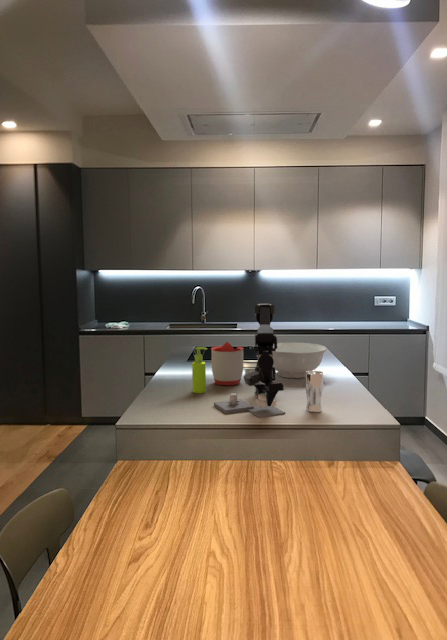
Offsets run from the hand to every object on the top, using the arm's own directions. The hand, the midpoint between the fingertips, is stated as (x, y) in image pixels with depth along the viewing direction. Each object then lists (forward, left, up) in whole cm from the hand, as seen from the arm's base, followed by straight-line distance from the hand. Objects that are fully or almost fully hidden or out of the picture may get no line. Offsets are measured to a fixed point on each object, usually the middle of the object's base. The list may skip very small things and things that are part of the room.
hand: (265, 404), depth 196 cm
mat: (0, 0, -3) cm, 3 cm away
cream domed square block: (0, 0, 0) cm, 0 cm away
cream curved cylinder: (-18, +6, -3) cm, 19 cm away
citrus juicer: (-6, -50, -3) cm, 50 cm away
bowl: (-43, -51, -3) cm, 67 cm away
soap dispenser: (+12, -40, -3) cm, 42 cm away
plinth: (+9, -10, -3) cm, 14 cm away
